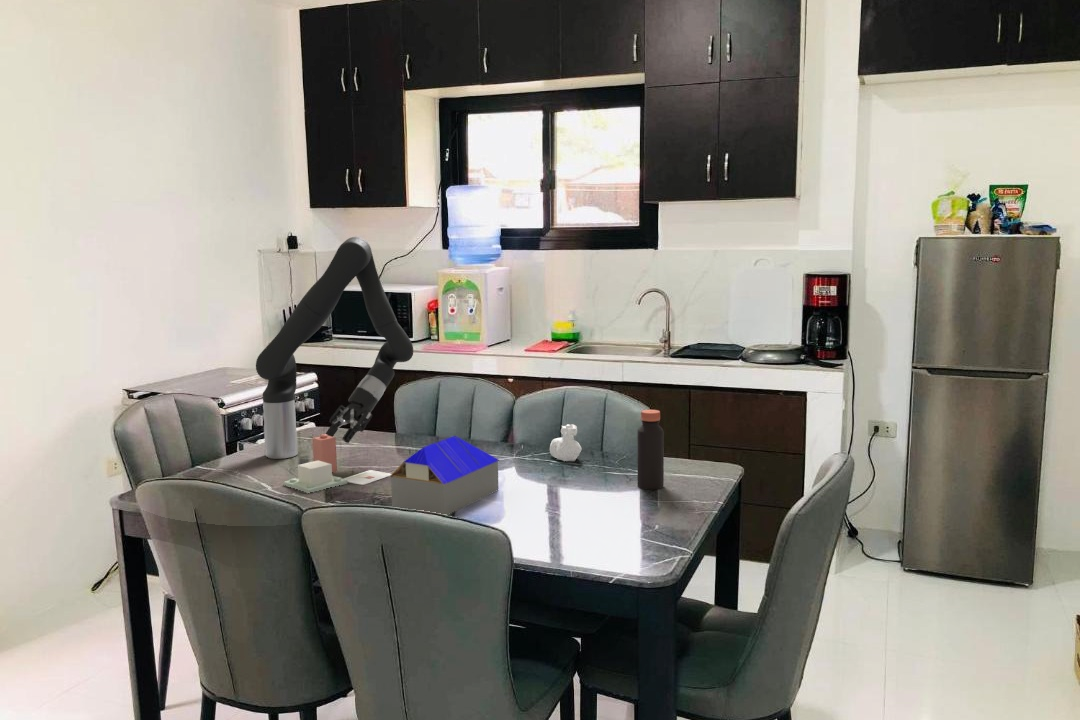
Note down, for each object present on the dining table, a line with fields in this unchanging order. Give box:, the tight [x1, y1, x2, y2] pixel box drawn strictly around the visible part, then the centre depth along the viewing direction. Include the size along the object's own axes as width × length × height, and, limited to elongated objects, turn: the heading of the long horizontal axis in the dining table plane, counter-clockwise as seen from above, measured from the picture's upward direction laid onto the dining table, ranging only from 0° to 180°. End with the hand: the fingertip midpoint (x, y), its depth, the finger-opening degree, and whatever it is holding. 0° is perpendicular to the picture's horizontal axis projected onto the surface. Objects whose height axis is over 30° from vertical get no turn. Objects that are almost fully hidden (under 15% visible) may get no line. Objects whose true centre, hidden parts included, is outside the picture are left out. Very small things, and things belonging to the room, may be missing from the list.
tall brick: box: [312, 433, 338, 473], centre depth 244 cm, size 5×5×11 cm
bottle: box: [636, 409, 665, 491], centre depth 223 cm, size 7×7×20 cm
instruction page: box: [343, 469, 392, 486], centre depth 238 cm, size 9×12×1 cm
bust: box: [549, 423, 583, 462], centre depth 255 cm, size 12×8×11 cm
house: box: [388, 435, 500, 516], centre depth 216 cm, size 25×16×16 cm, turn 151°
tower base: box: [283, 460, 348, 494], centre depth 231 cm, size 12×12×6 cm
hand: (336, 439), depth 246 cm, fingers open, 8 cm apart
